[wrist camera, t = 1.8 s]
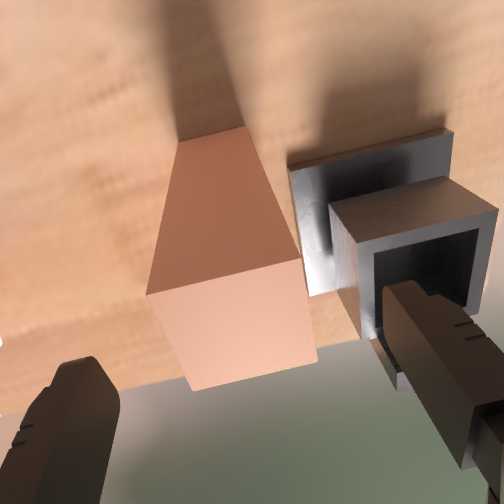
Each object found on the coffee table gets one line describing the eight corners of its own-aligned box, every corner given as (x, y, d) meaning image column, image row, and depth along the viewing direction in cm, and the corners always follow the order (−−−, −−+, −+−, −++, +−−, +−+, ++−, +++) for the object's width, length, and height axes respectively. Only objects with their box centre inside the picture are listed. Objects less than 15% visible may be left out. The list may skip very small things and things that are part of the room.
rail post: (178, 142, 21) (145, 295, 9) (245, 125, 21) (301, 258, 9) (198, 203, 23) (192, 391, 11) (258, 188, 23) (317, 361, 11)
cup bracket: (286, 166, 22) (337, 252, 14) (444, 127, 22) (592, 190, 14) (306, 288, 28) (351, 402, 19) (432, 257, 27) (533, 359, 19)
